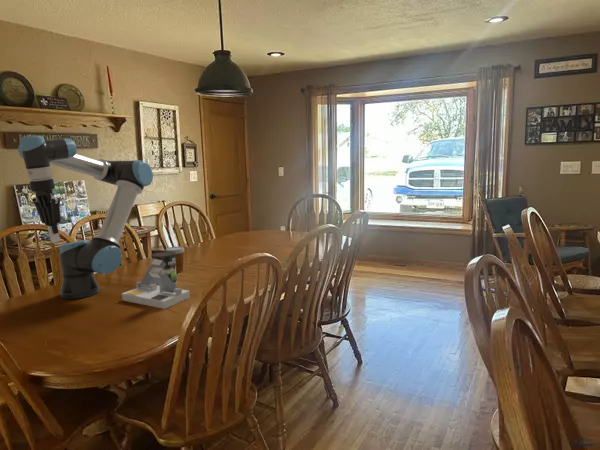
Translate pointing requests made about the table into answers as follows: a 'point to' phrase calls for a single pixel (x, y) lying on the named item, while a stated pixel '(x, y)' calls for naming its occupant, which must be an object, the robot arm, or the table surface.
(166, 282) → the paddle over charcoal tile
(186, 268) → the table surface
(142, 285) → the paddle over amber tile
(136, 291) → the switch unit
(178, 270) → the disposable coffee cup
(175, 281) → the coffee can
